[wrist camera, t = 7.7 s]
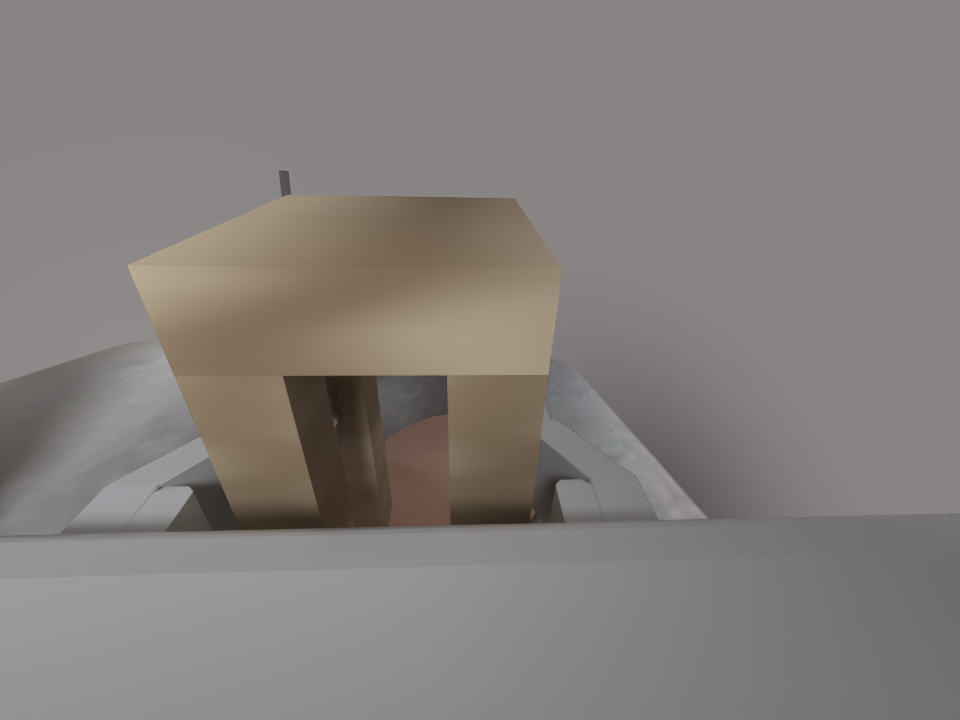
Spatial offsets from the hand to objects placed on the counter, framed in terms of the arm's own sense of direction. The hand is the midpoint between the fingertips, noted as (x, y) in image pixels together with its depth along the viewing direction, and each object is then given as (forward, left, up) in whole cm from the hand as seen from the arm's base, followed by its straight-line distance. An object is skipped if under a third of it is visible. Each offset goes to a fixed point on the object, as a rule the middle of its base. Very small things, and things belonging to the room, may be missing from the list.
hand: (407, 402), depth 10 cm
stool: (0, -1, -6) cm, 6 cm away
